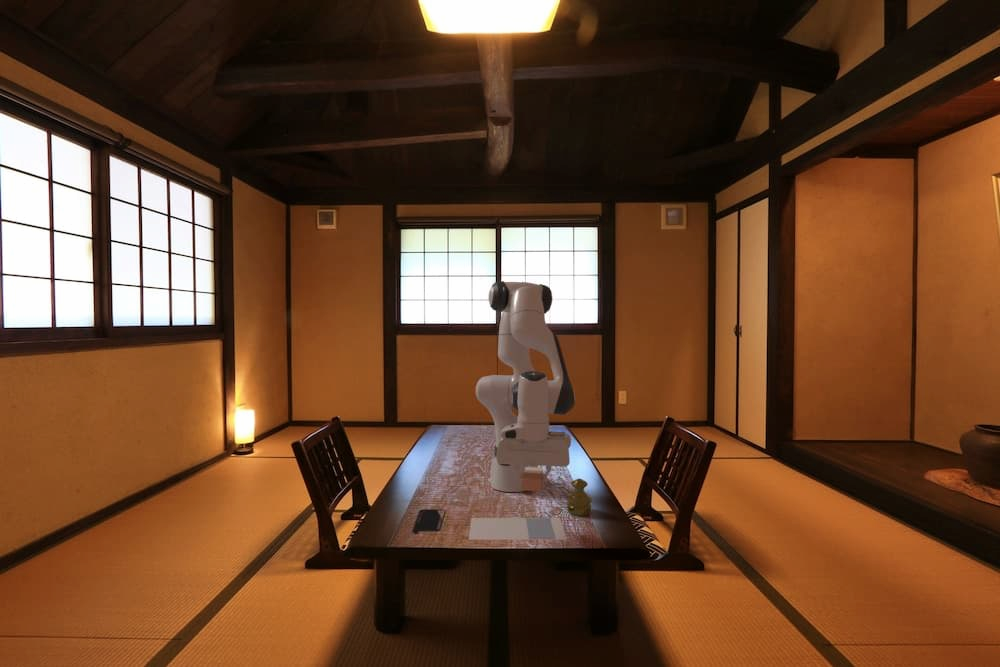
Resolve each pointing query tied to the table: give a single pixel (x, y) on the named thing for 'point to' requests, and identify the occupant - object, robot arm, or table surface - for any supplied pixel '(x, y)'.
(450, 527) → the table surface
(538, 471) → the two-tone tall block
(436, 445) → the table surface
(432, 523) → the phone
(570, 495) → the olive green vase
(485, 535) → the mat
